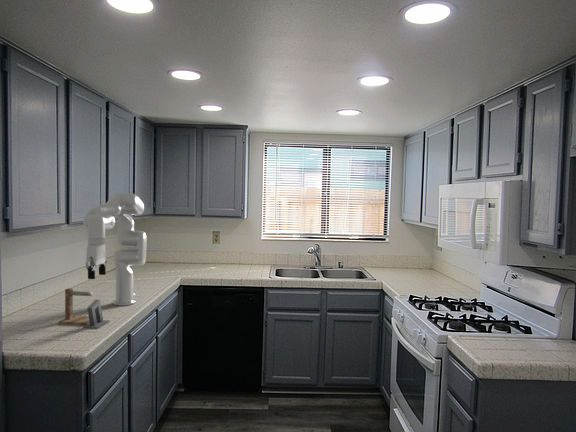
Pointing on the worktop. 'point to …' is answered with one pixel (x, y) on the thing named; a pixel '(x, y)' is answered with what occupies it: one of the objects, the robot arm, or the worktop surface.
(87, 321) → the hook stand
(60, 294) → the worktop surface
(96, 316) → the grey u-shaped bracket
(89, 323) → the rubber mat
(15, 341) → the worktop surface
